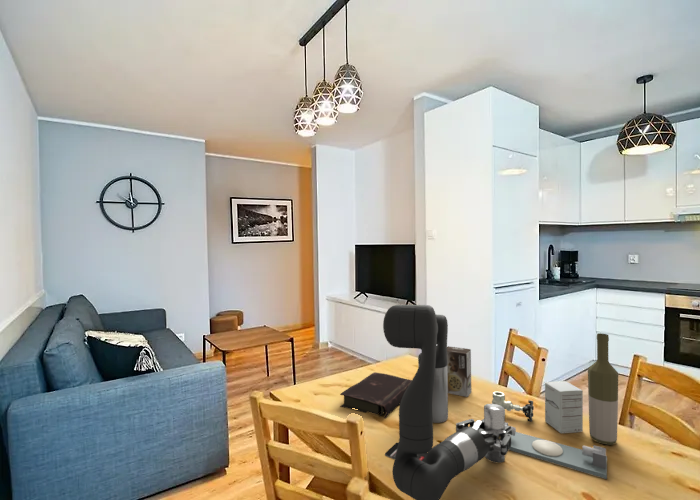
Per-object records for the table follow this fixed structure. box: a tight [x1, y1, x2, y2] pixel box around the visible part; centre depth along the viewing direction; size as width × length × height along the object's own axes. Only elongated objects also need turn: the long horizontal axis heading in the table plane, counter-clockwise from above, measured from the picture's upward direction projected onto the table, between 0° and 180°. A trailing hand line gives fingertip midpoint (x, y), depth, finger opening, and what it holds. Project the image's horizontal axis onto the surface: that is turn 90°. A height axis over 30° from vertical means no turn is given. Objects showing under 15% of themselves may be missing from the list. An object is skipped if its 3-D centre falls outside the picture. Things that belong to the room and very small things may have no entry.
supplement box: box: [544, 380, 584, 434], centre depth 109 cm, size 7×7×13 cm
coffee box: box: [447, 345, 473, 398], centre depth 136 cm, size 9×6×16 cm
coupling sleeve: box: [483, 403, 506, 464], centre depth 94 cm, size 5×5×13 cm
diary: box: [339, 372, 413, 419], centre depth 132 cm, size 19×25×5 cm
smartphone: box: [384, 441, 428, 463], centre depth 95 cm, size 7×1×15 cm
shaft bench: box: [505, 421, 608, 480], centre depth 96 cm, size 26×9×4 cm, turn 54°
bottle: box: [587, 332, 619, 446], centre depth 101 cm, size 7×7×30 cm
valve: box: [491, 391, 535, 423], centre depth 116 cm, size 7×7×12 cm
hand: (499, 425), depth 96 cm, fingers closed on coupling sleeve, 5 cm apart
